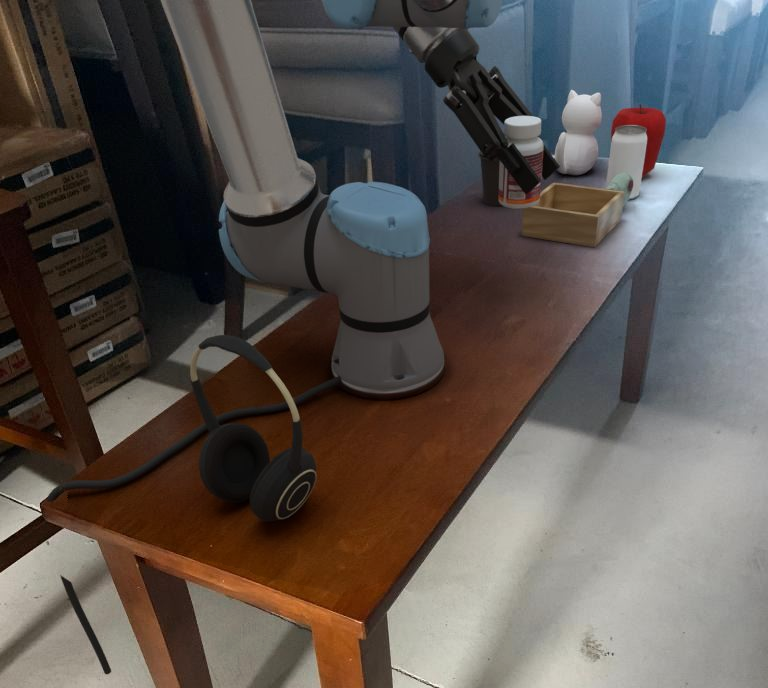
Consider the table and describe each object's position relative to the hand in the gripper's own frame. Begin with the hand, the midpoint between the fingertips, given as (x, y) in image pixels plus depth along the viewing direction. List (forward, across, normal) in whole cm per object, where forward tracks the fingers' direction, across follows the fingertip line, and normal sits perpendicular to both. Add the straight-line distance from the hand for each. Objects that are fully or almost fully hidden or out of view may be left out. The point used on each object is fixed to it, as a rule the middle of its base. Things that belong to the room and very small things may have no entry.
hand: (543, 180), depth 111 cm
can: (+11, -46, -13) cm, 48 cm away
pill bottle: (0, 0, -5) cm, 5 cm away
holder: (+9, -26, -14) cm, 31 cm away
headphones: (+8, +63, -15) cm, 65 cm away
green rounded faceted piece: (+12, -38, -11) cm, 41 cm away
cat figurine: (+1, -56, -23) cm, 60 cm away
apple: (+9, -58, -14) cm, 60 cm away
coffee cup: (-4, -34, -28) cm, 44 cm away
